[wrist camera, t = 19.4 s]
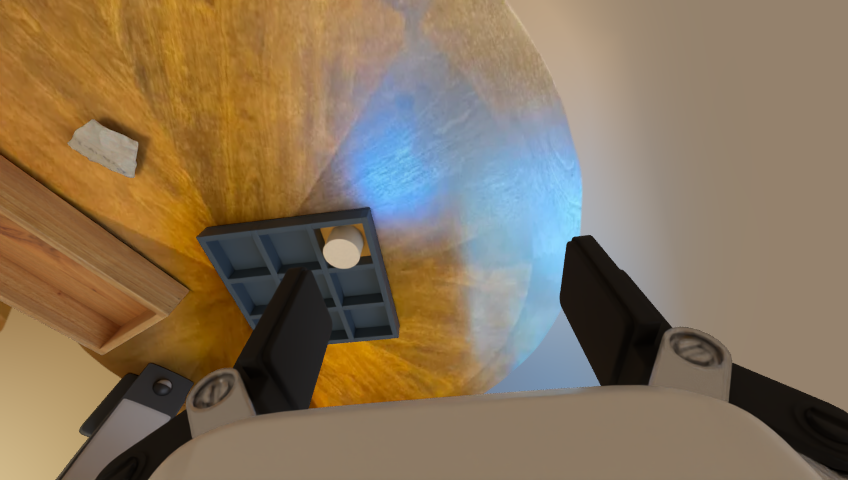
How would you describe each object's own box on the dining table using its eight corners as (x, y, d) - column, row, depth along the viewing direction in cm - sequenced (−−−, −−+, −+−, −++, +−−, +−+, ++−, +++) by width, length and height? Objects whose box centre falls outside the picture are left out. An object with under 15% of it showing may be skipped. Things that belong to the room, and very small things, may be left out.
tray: (191, 289, 47) (165, 318, 42) (129, 327, 51) (99, 358, 46) (-71, 92, 32) (-156, 103, 28) (-128, 168, 37) (-210, 189, 32)
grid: (369, 207, 40) (367, 216, 38) (399, 325, 51) (398, 337, 49) (206, 227, 41) (195, 237, 39) (271, 338, 53) (265, 350, 51)
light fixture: (231, 362, 56) (122, 552, 36) (183, 400, 62) (67, 581, 42) (169, 330, 51) (4, 527, 31) (124, 375, 58) (-38, 563, 37)
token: (359, 222, 40) (354, 237, 37) (367, 251, 43) (363, 267, 40) (325, 226, 40) (318, 241, 38) (335, 254, 43) (328, 270, 40)
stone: (137, 179, 38) (157, 143, 35) (122, 188, 36) (142, 150, 33) (75, 142, 35) (92, 99, 33) (56, 149, 33) (72, 104, 31)
